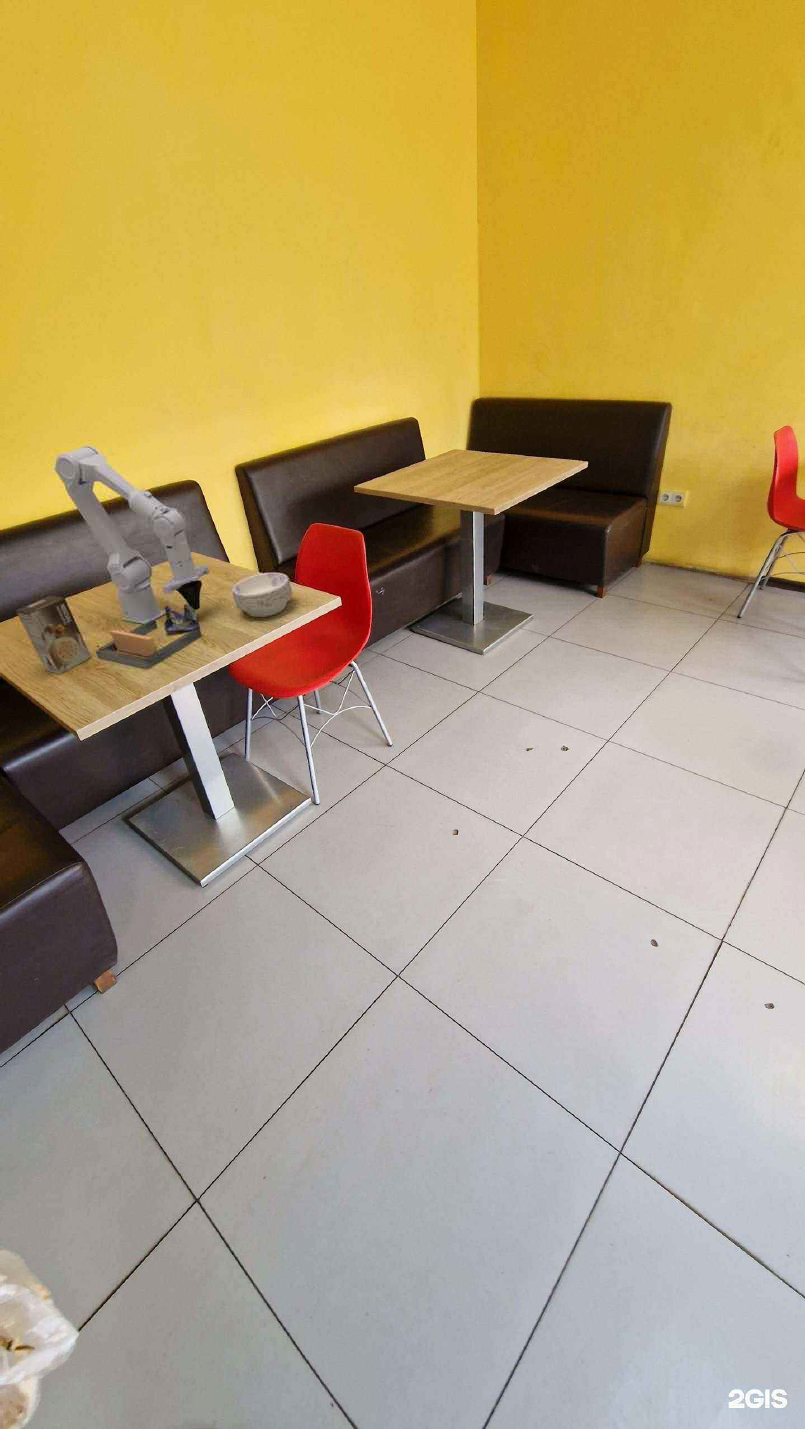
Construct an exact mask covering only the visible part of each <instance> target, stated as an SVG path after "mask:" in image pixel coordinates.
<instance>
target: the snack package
mask: <svg viewBox="0 0 805 1429" xmlns="http://www.w3.org/2000/svg"><path fill="white" fill-rule="evenodd" d="M164 609H165V610H164V611H166V614H165V618H166V619H165V622H164V631H165V632H166V634H169V633H172V632H175V631H176V632H177V631H180V632H182V633H188V632H190V631H192V630H193V629H195V628H198V629H200V630H201V628H200V627H201V626H200V624H199V622H197V618H198V617H197V610H194V609H193V608H192V607H191V606H189V604H188V603H187V604H184V605H183V610H184V612H183V613H182V612H180V611H177V610H176V609H173V608H171V607H169V606H168V605H165V607H164ZM183 622H185V623H187V625H186V626H183V627H182V626H181V625H182V623H183Z"/></svg>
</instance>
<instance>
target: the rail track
mask: <svg viewBox="0 0 805 1429" xmlns="http://www.w3.org/2000/svg"><path fill="white" fill-rule="evenodd" d="M156 629H158V624H157V621H156V619H155V620H150V621H148V622H146V623H145V624H141V625H140V626H137V627H136V628H133V629H132V630H130V631H128V633H133V634H138V635H143V636H146V635H147V634H148V633H150V632H152V631H153V630H156ZM202 634H203V633H202V631H201V628H200V629H198V628H195V629H193V630H192V631H190V632H186V633H185V634H183V635H182V636H180V637H178V638H177V639H175V640H173V641H171V642H170V643H168V644H167V645H165V646H163V647H161V648H160V649H157V651H156V652H155V653H153V654H151V655H150V656H148V657H147V656H145V658H144V657H140V656H136V655H133V654H129V653H128V654H127V653H123V652H119V651H118V650H117V648H116V645H115V643H114V640H112V641H110V642H108V643H106V644H104V645H103V646H101V647H98V649H97V650H95V653H96V656H97V658H98V659H103V660H107V661H111V662H114V663H115V662H116V663H119V664H122V665H123V664H124V665H128V666H130V667H131V666H132V667H136V668H139V669H144V670H149V669H151V668H153V667H154V666H155V665H157V664H159V663H161V662H162V661H164V660H166V659H167V658H169V657H170V656H172V655H173V654H175V653H177V652H178V651H180V650H181V649H183V648H185V647H186V646H188V645H190V644H192V643H193V642H194V641H196V640H198V639H200V638H202V636H203V635H202Z"/></svg>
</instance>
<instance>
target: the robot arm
mask: <svg viewBox="0 0 805 1429" xmlns="http://www.w3.org/2000/svg"><path fill="white" fill-rule="evenodd" d="M54 471H55V473H56V474H57V475H58V477H59V479H60V481H61V482H62V483H63V485H64V487H65V490H66V493H67V494H68V496H69V497H70V499H71V501H72V503H74V506H75V507H76V508H77V510H78V512H79V513H80V514H81V516H82V517H83V519H84V521H85V523H86V524H87V525H88V528H90V531H92V533H93V534H94V536H95V538H96V539H97V541H98V542H99V544H100V545H101V547H102V548H103V550H104V551H105V553H106V555H107V556H108V558H109V559H108V563H107V565H106V569H107V571H108V572H109V574H110V577H111V581H112V583H113V585H114V587H116V588H117V589H118V591H117V598H118V602H119V603H120V607H121V609H122V612H123V615H124V617H123V618H122V620H123V621H125V622H132V623H136V624H141V625H143V624H145V623H146V622H148V621H150V620H155V621H156V619H159V618H160V617H162V616H164V615H166V611H165V610H164V609H160V608H159V604H158V601H157V599H156V596H155V593H154V590H153V586H152V584H151V582H152V579H151V577H152V576H153V568H152V566H151V564H150V562H148V560H147V559H145V558H144V557H143V556H142V555H141V553H140V551H138V550H136V549H133V548H130V547H129V546H128V544H127V543H126V541H125V540H124V539H123V537H122V535H121V533H120V532H119V530H118V528H117V527H116V525H115V523H114V522H113V521H112V520H111V518H110V516H109V515H108V513H107V511H106V509H105V508H104V507H103V505H102V504H101V502H100V500H99V499H98V497H97V495H96V494H95V492H94V490H93V489H94V486H95V482H100V483H101V484H103V485H104V486H106V487H107V488H108V489H110V490H112V491H113V492H115V493H116V494H117V495H119V496H120V497H121V498H123V499H125V500H126V501H128V506H129V508H130V510H132V511H133V512H134V513H136V514H137V515H138V516H140V517H141V518H142V519H144V521H146V522H147V523H149V524H150V525H151V526H152V531H153V532H154V534H155V535H156V536H157V537H158V538H159V540H160V543H161V544H162V546H163V547H164V551H165V553H166V557H167V560H168V564H169V567H170V570H171V572H172V575H173V578H171V579H170V580H169V581H167V582H166V584H164V585H162V586H161V587H162V590H163V591H162V592H163V593H164V594H167V595H171V594H173V592H174V591H177V592H178V593H179V594H180V595H181V596H182V597H183V599H184V600H185V602H186V603H187V605H189V606H191V607H192V608H193V609H194V610H195V611H199V609H200V608H201V602H200V599H201V598H200V597H201V596H200V595H201V589H202V586H203V582H202V580H199V579H200V577H203V576H205V575H209V574H210V573H211V572H210V569H209V566H207V565H201V566H199V567H196V568H195V564H194V560H193V558H192V557H193V556H192V553H191V550H190V547H189V543H188V540H187V536H186V534H185V531H184V530H186V528H187V520H186V519H187V518H185V516H184V514H183V513H182V512H181V511H180V510H179V509H177V508H173V507H172V508H171V507H169V506H166V505H165V504H163V503H162V502H161V501H159V500H158V499H157V498H156V497H154V496H153V494H152V493H151V492H150V491H149V490H145V489H137V488H136V487H135V486H133V484H131V483H130V482H128V481H127V480H126V478H124V476H122V475H121V474H120V473H118V471H116V470H115V469H114V468H113V467H112V466H111V465H109V464H108V462H107V459H106V457H105V455H104V454H102V453H100V452H99V450H97V448H94V447H92V446H90V445H85V446H83V447H81V448H78V449H75V450H73V451H69V452H67V453H61V454H59V455H58V456H57V457H56V460H55V467H54Z"/></svg>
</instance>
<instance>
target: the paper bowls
mask: <svg viewBox="0 0 805 1429" xmlns="http://www.w3.org/2000/svg"><path fill="white" fill-rule="evenodd" d="M231 593H232V596H233V600H234V602H235V605H236V607H237V608H238V610H241V611H244V612H246V613H247V614H248V615H249V616H251V617H255V618H265V617H270V616H274V615H276V614H279V613H280V612H282V611H283V610H285V608H286V606H287V602H289V601H290V599H291V598H292V597H293V590H292V586H291V581H290V578H289V576H288V575H286V574H284V573H281V572H264V573H258V574H254V575H251V576H248V577H247V576H246V577H245V578H242V579H241V580H239V581H238V582H236V583H235V584H234V585H233V586H232V588H231Z"/></svg>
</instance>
